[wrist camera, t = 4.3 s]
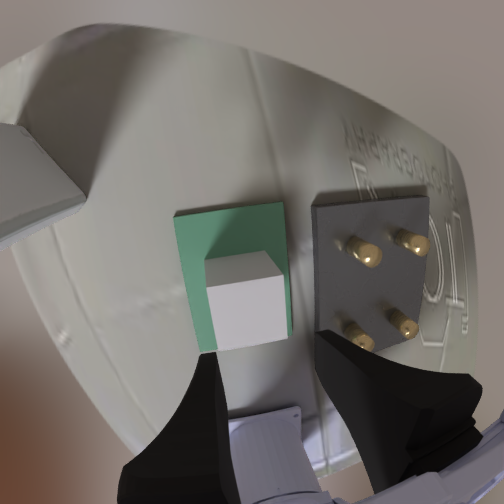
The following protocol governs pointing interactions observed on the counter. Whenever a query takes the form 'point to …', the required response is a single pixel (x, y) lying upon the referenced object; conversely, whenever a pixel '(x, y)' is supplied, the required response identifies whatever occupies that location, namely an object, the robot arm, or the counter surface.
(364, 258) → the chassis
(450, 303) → the counter surface
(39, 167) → the external hard drive
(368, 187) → the counter surface
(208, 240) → the board
